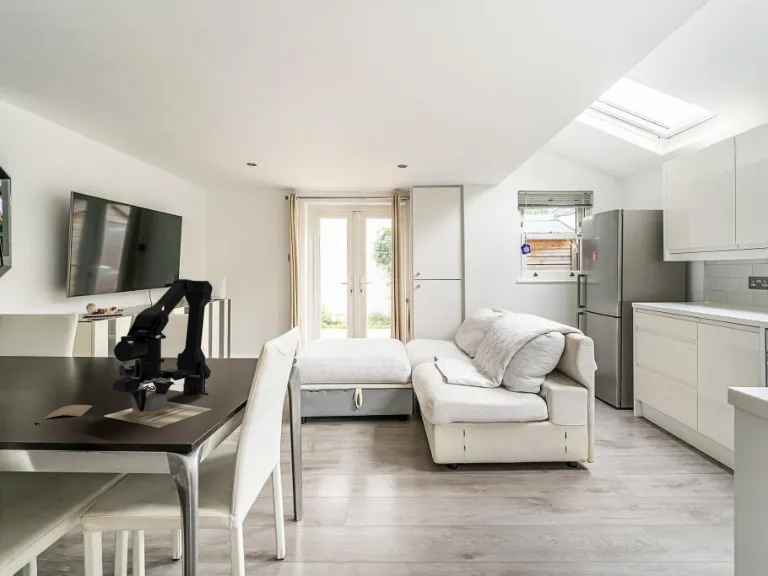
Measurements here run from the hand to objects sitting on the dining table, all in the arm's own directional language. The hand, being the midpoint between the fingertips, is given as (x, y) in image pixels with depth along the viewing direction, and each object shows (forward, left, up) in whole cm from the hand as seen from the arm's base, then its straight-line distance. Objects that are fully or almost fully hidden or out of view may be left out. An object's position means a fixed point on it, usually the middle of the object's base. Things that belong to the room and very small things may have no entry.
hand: (149, 408), depth 125 cm
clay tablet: (+11, -19, -3) cm, 22 cm away
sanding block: (0, 0, 0) cm, 0 cm away
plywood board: (0, +4, -2) cm, 4 cm away
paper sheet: (-22, -25, -2) cm, 33 cm away
